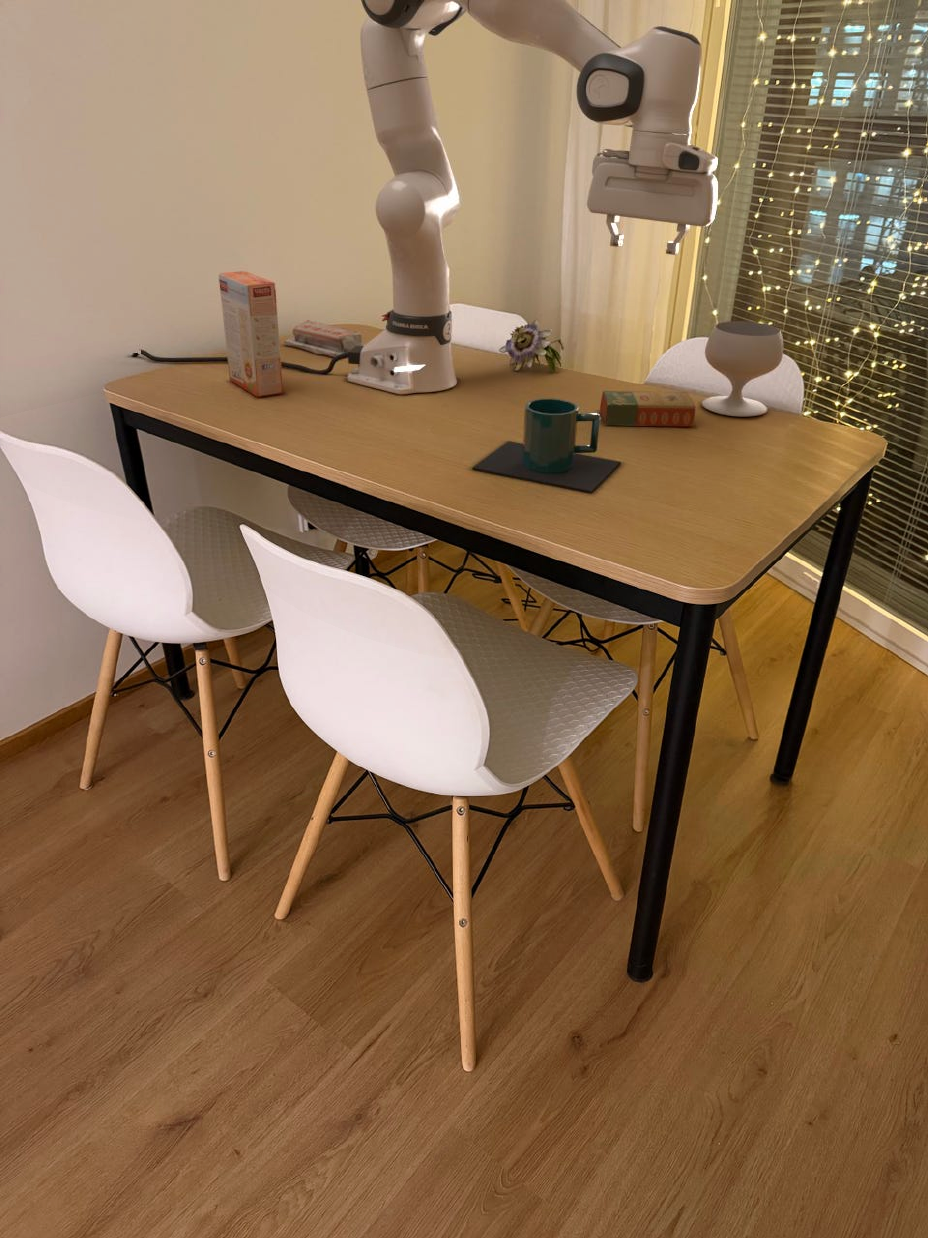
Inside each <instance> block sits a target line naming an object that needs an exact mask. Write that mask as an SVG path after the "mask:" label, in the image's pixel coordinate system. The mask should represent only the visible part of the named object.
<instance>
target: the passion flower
mask: <svg viewBox="0 0 928 1238" xmlns="http://www.w3.org/2000/svg"><path fill="white" fill-rule="evenodd" d="M539 325H540V321H539V320H538V318H536V319H534V320H533V321H532V322H531V323H527V324H524V325H520V326H519V327H518V326H515V327H516V328H515V329H514V330H512V333H509V334H510V335H511V338H510V339H507V340H506V341H505V345H504V346H502V347H500V348H499V349H498V351H499V352H500V353H503V354H504V353H507V354H508V356H509V357H510V359H509V366H515V372H520V371H521V370H522V369H523V368H524V364H525V366H526V367H527V368H528V369H531V368H532V367H533V366H534V365H535V361H536V360H537V362H538V364H539V365H540V364H541V361H540V358H539V356H540V357H545V360H546V363H547V365H548V368H549V370H550V371H551V372H553V373H556V371H557V363H558V365H559V368H561V367H562V362H563V361H562V356H561V355H560V353H559V352H558V351H557V350H556V349H555V348H554V347H552V346H551V344H554V343H556V342H558V343H559V345H560V348H561V350H562V351H563V350H565V346H564V343H563V342H562V339H561V338H560V339H556V340H554V341H550V340H548V339H547V338H549V336H551V335H552V332H553V330H552V329H551V328H550V329H544V330H540V329H539ZM535 359H536V360H535Z"/></svg>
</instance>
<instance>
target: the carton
mask: <svg viewBox="0 0 928 1238" xmlns="http://www.w3.org/2000/svg"><path fill="white" fill-rule="evenodd" d="M696 408H697V407H696V404H695V402H694V401H693V399H692V397H691V395H690V394H689V393H688V392H687V391H686V392H685V391H629V390H626V391H624V390H622V391H619V390H603V391H602V394H601V399H600V406H599V410H600V413H601V416H602V419H603V422H604V424H605V426H630V427H631V426H635V427H637V426H638V427H642V426H643V427H694V424H695V417H696Z"/></svg>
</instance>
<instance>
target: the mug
mask: <svg viewBox="0 0 928 1238" xmlns="http://www.w3.org/2000/svg"><path fill="white" fill-rule="evenodd" d="M579 409H580V407H579V406H578V405H577V403H575V402H573V401H571V400H567V399H562V398H560V399H559V398H550V397H549V398H548V397H547V398H537V399H532V400H530V401H527V402H526V403H525V405H524V415H523V435H522V437H523V438H522V444H523V452H522V460H523V461H522V464H523V466H524V467H525V468H527V469H529V470H532V471H535V472H540V473H562V472H566V471H568V470H570V469H572V467H573V464H574V457H575V453H576V454H594V453H596V452H597V451H598V443H599V436H600V435H599V434H600V424H601V415H600V414H599V413H598V412H593V413H592V412H591V413H590V412H589V413H588V412H587V413H579ZM578 422H591V428H590V429H591V430H590V441H589V444H581V445H577V444H576V443H577V434H578V433H577V432H578Z"/></svg>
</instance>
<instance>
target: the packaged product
mask: <svg viewBox="0 0 928 1238" xmlns="http://www.w3.org/2000/svg"><path fill="white" fill-rule="evenodd" d="M292 334H293V337H290V338H287V339H284V340H283V344H284V346H288V347H293V348H298V349H301V350H305V351H308V352H311V353H313V354H315V355H323V356H327V357H331V358H334V357H336V356H338V355H340V354H343V353H347V352H349V351H350V350H351V349H353V348H354V347H355V346H365V345H366V344H367V343H366V344H365V343H363V339H362V338H363V336H362V333H361V332H358V331H354V330H349V329H346V328H343V327H338V326H335V325H334V326H333V325H330V324H326V323H321V322H317V321H313V320H305V321H303V322H302V323H300V324H298V325H297V326H295V327H294V328H293V329H292Z"/></svg>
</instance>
